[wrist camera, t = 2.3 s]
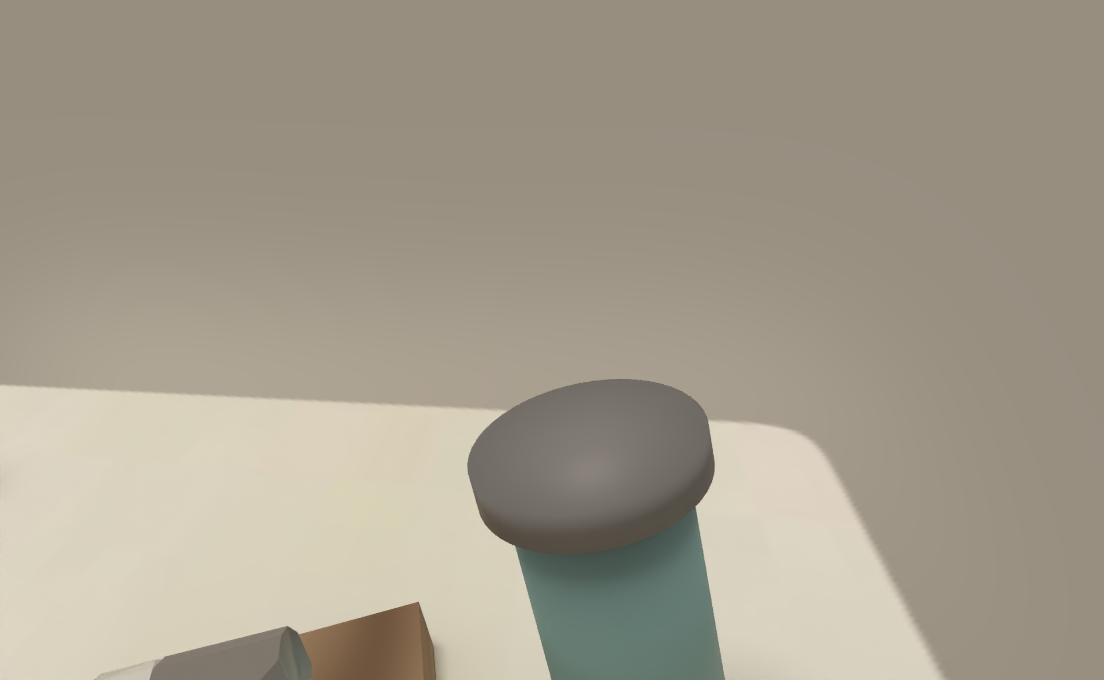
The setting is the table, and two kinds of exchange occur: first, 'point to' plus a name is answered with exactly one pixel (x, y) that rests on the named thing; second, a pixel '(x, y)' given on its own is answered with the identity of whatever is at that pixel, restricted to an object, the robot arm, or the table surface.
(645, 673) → the bobbin
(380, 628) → the notched board
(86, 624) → the table surface
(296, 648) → the robot arm
